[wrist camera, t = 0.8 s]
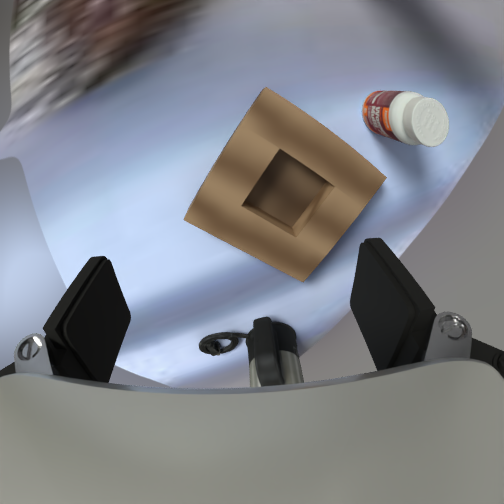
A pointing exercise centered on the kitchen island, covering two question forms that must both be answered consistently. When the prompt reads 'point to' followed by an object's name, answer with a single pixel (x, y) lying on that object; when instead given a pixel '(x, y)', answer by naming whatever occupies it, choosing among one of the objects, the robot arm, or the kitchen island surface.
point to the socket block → (284, 187)
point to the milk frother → (264, 352)
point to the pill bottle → (406, 117)
